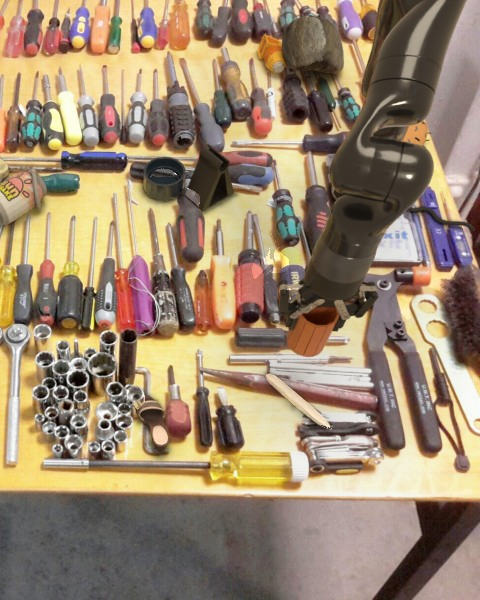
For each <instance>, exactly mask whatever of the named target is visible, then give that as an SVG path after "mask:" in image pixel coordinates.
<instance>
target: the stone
mask: <svg viewBox="0 0 480 600" xmlns="http://www.w3.org/2000/svg"><path fill="white" fill-rule="evenodd" d="M281 43H282V53H283V55H284V58H285V60H286V62H287V63H286V65H288V67H289V68H290V69H291V70H293V71H296V72H307V71H313V72H317V73H318V72H319V73H327V74H339V73H341V72H342V71H343V70H344V67H345V66H344V65H345V55H344V47H343V42H342V37H341V35H340V32H339V31H338V29H337V28H336V26H335V24H334V23H333V22H331V21H330V20H328V19H325V18H323V17H321V16H315V15H312V14H307V15H303V16H298V17H296V18H295V19H293V20H292V21H291V22H290V23H288V24H287V26H286V27H285V29H284V31H283V34H282V37H281Z"/></svg>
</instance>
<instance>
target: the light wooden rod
mask: <svg viewBox="0 0 480 600" xmlns="http://www.w3.org/2000/svg"><path fill="white" fill-rule="evenodd" d="M265 379H266V381H267V382H268V384H269V385H270V386H272V387H273V388H274V390H276V391H277V392H278V393H279V394H280V395H282V396H283V397H284V398H285V399H286V400H287V401H289V402H290V403H291V404H292V405H293V407H295V408H297V409H298V411H300V412H301V413H302V414H304V415H305V416H306V417H308V418H309V419H310V420H311V421H313V422H314V423H315V424H316V425H318V426H320V427H322V428H324V427H323V426H326V427H327V428H326V429H328V427H329V428H330V427H331V425H330V423H329V422H328V420H327V419H326V417H324V415H322V414H321V413H320V412H319V411H318V410H317V409H315V408H314V407H313V406H312V405H311V404H310V403H308V402H307V400H305V399H304V398H303V397H302V396H300V395H299V394H298V393H297V392H296V391H294V390H293V389H292V388H291V387H290V386H289V385H288V384H287V383H285V382H284V381H283V380H282V379H281V378H279V377H278V376H277V375H275V374H273V373H266V374H265ZM321 425H323V426H321ZM328 430H329V429H328Z"/></svg>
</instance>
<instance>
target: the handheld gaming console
mask: <svg viewBox="0 0 480 600" xmlns="http://www.w3.org/2000/svg"><path fill="white" fill-rule="evenodd" d="M8 169H9V165H8V163H7V162H6V161H5V160H3V159H2V158H1V157H0V184H1V183H2V181H3V180H4V179H5V178H7V177H9V175H10V170H8Z"/></svg>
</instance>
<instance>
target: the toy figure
mask: <svg viewBox="0 0 480 600" xmlns="http://www.w3.org/2000/svg"><path fill="white" fill-rule="evenodd" d="M256 53H257V57H258V60H263V61H264V65H265V67H266V69H268V70H269V71H270V72H271V73H273V74H279V73H281V72H283V71H284V70H286V69H285V68H286V67H287V62H286V60H285V58H284V55H283V53H282V40H279V39H277V38H275V37H273V36H270V35H268V34H263V36H262V38H261V40H260V42H259V45H258V47H257V51H256Z"/></svg>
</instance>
